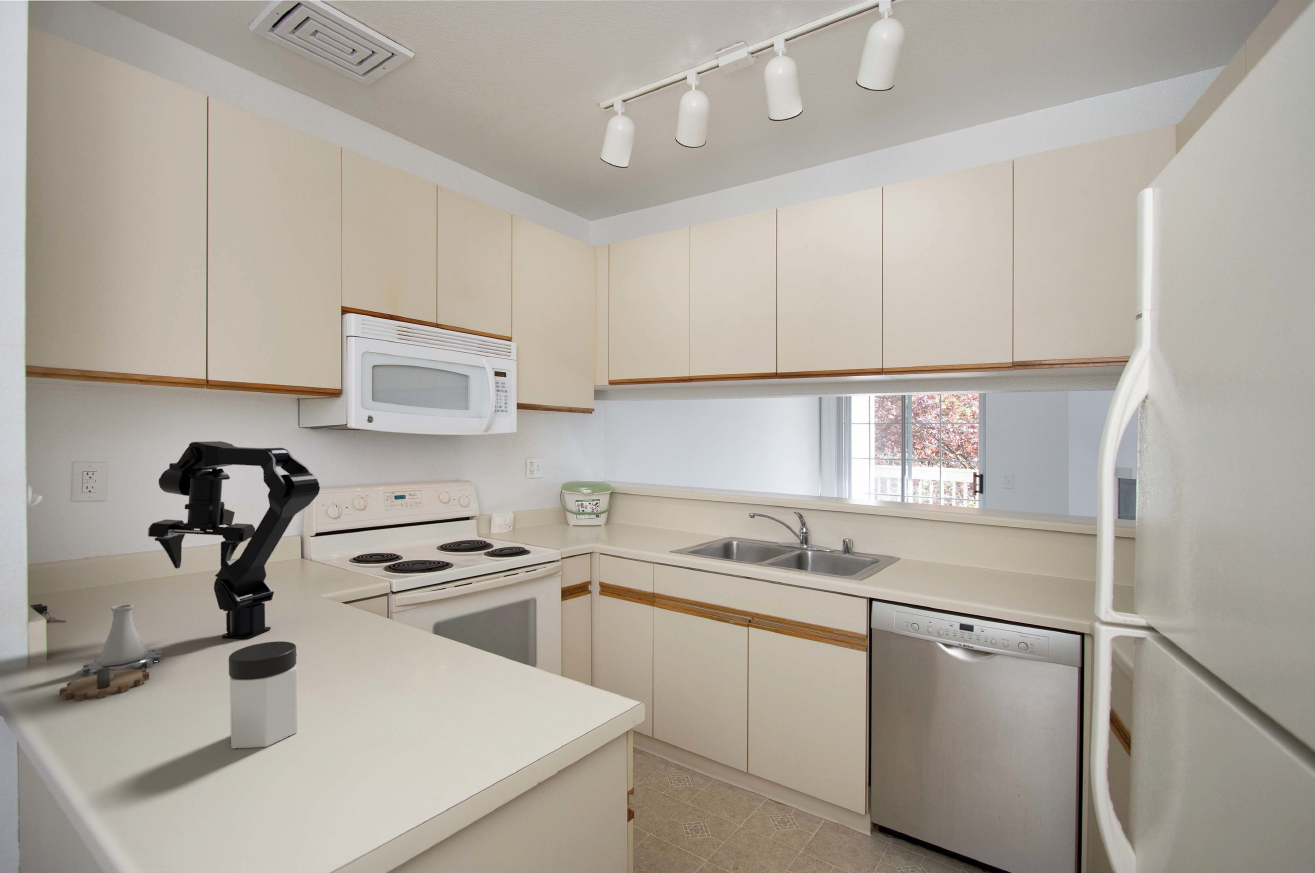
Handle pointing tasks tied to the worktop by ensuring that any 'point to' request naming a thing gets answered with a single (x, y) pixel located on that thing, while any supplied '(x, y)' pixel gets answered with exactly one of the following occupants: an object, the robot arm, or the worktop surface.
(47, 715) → the worktop surface
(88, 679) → the drive gear
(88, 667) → the gear
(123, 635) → the flask
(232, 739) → the jar
